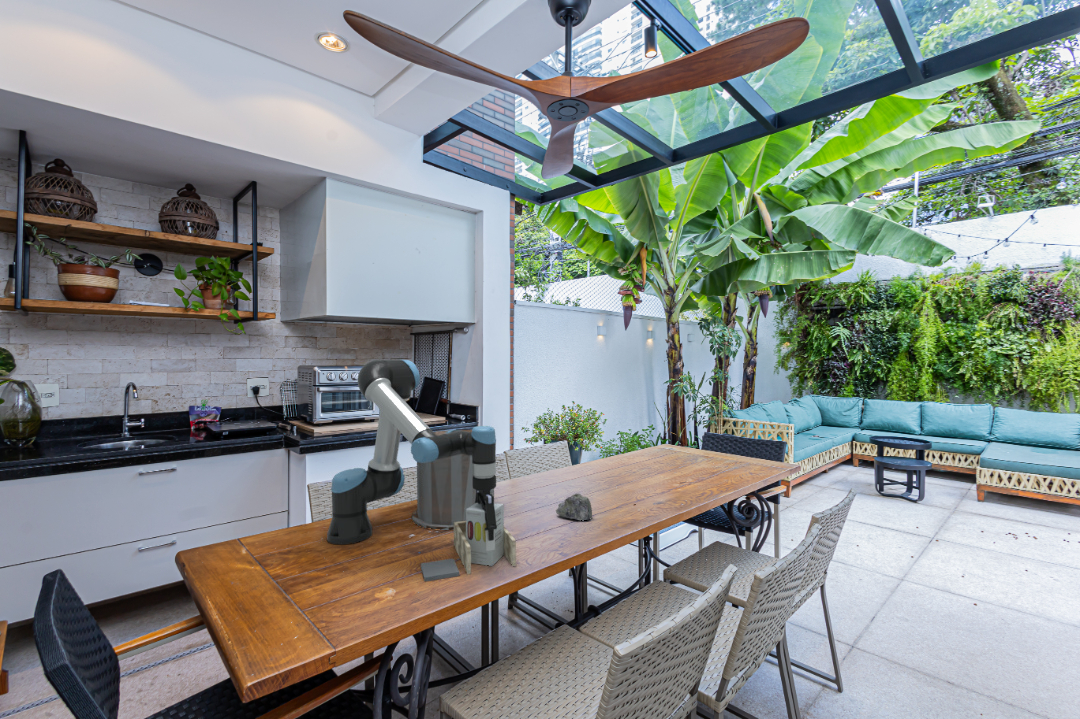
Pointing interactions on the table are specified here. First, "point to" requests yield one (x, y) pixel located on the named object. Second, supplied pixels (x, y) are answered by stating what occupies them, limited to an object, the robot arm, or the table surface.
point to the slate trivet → (439, 569)
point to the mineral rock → (575, 508)
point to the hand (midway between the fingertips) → (485, 542)
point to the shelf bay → (465, 549)
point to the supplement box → (484, 534)
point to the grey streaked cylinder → (444, 491)
